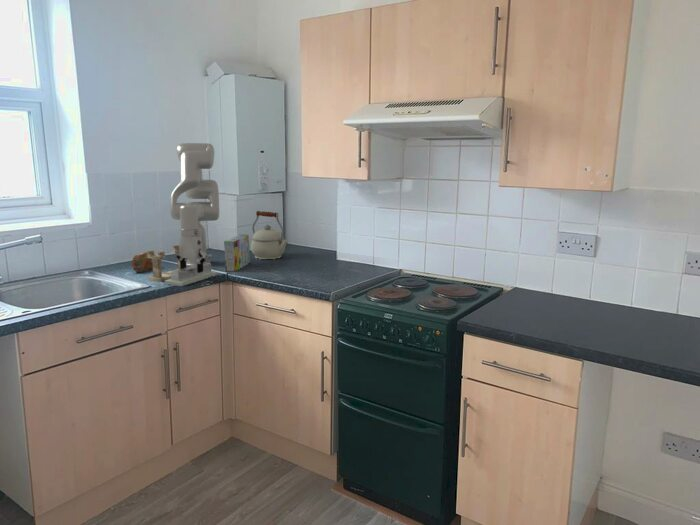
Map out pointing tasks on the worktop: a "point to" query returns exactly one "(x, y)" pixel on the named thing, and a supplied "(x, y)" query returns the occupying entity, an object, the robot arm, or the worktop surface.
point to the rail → (189, 272)
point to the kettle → (268, 240)
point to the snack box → (237, 252)
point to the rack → (156, 263)
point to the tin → (142, 262)
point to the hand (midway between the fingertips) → (191, 271)
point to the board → (191, 279)
